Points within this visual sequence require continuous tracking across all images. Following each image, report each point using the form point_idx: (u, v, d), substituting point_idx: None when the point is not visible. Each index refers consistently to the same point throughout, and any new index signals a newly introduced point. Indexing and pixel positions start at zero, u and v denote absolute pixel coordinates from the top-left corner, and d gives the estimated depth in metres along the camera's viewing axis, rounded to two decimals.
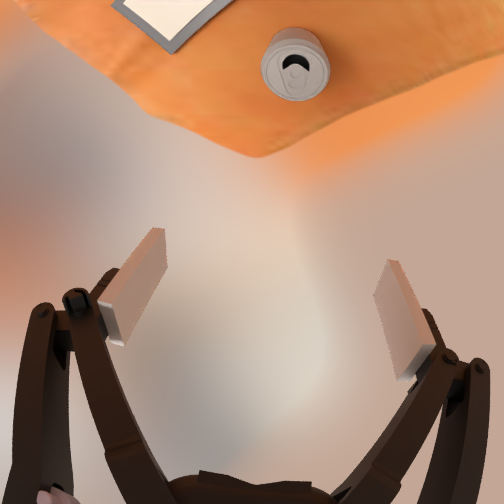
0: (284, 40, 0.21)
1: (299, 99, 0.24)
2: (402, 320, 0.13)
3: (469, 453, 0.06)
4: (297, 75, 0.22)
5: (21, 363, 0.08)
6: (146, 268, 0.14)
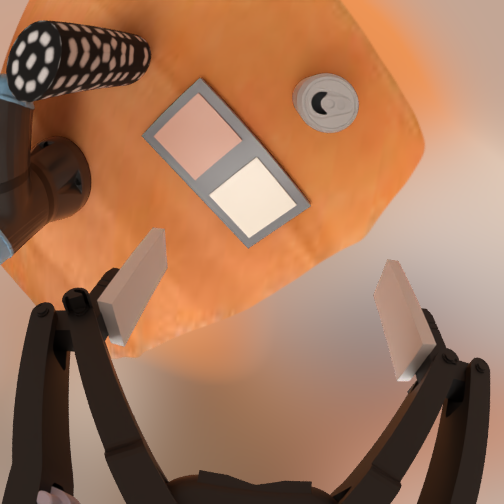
0: (299, 110, 0.27)
1: (356, 102, 0.25)
2: (402, 320, 0.13)
3: (469, 453, 0.06)
4: (332, 102, 0.25)
5: (21, 363, 0.08)
6: (146, 268, 0.14)
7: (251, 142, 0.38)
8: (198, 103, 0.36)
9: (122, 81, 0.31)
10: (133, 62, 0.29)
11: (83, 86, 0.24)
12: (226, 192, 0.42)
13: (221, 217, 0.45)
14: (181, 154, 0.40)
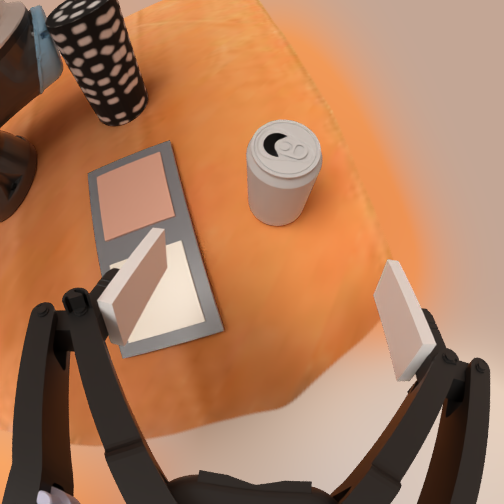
0: (247, 153, 0.24)
1: (318, 153, 0.22)
2: (402, 320, 0.13)
3: (469, 453, 0.06)
4: (289, 146, 0.23)
5: (21, 363, 0.08)
6: (146, 268, 0.14)
7: (183, 222, 0.32)
8: (153, 161, 0.34)
9: (108, 107, 0.32)
10: (128, 94, 0.32)
11: (84, 64, 0.24)
12: None
13: None
14: (108, 206, 0.33)
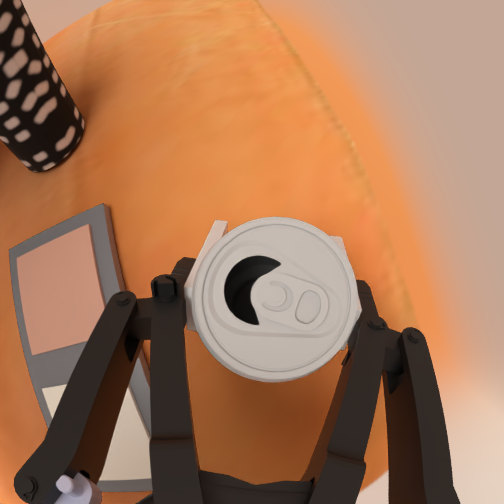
0: (192, 297, 0.11)
1: (352, 309, 0.10)
2: None
3: (427, 429, 0.07)
4: (285, 294, 0.10)
5: (86, 347, 0.09)
6: None
7: None
8: (80, 240, 0.21)
9: (20, 146, 0.19)
10: (42, 124, 0.19)
11: None
12: None
13: None
14: (30, 306, 0.20)
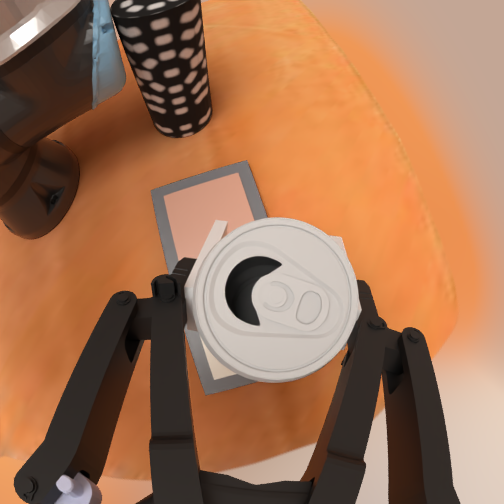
0: (193, 297, 0.11)
1: (353, 310, 0.10)
2: None
3: (427, 429, 0.07)
4: (285, 295, 0.10)
5: (86, 347, 0.09)
6: None
7: None
8: (232, 183, 0.33)
9: (174, 117, 0.32)
10: (198, 104, 0.32)
11: (157, 67, 0.23)
12: None
13: (189, 336, 0.30)
14: (182, 230, 0.32)
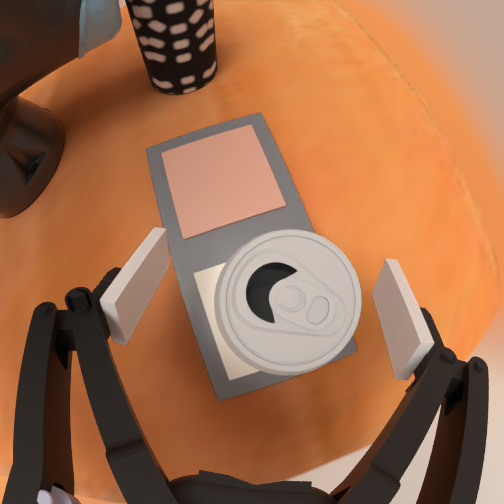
0: (215, 295, 0.13)
1: (356, 315, 0.11)
2: (400, 319, 0.13)
3: (468, 452, 0.06)
4: (298, 298, 0.11)
5: (23, 362, 0.08)
6: (148, 267, 0.14)
7: (297, 214, 0.25)
8: (245, 136, 0.26)
9: (175, 66, 0.25)
10: (203, 52, 0.25)
11: (159, 0, 0.17)
12: None
13: (195, 324, 0.23)
14: (184, 191, 0.25)
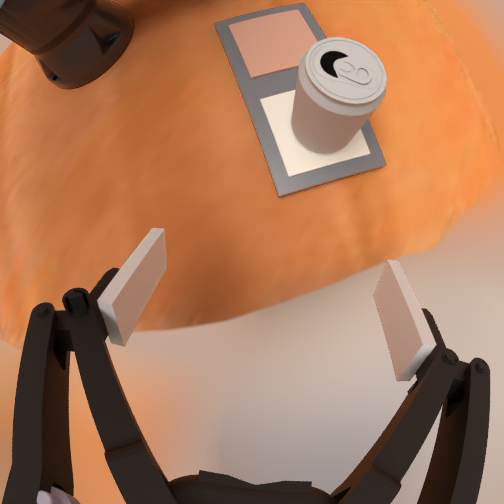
0: (299, 69, 0.17)
1: (384, 81, 0.16)
2: (402, 320, 0.13)
3: (469, 453, 0.06)
4: (350, 67, 0.16)
5: (21, 363, 0.08)
6: (146, 268, 0.14)
7: None
8: (294, 16, 0.27)
9: None
10: None
11: None
12: (285, 103, 0.28)
13: (261, 135, 0.29)
14: (250, 48, 0.28)
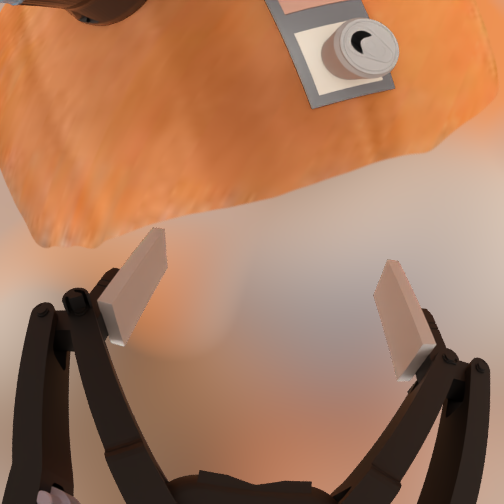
0: (334, 41, 0.21)
1: (396, 57, 0.20)
2: (402, 320, 0.13)
3: (469, 453, 0.06)
4: (373, 45, 0.20)
5: (21, 363, 0.08)
6: (146, 268, 0.14)
7: (357, 5, 0.26)
8: None
9: None
10: None
11: None
12: (315, 37, 0.29)
13: (296, 62, 0.31)
14: None
